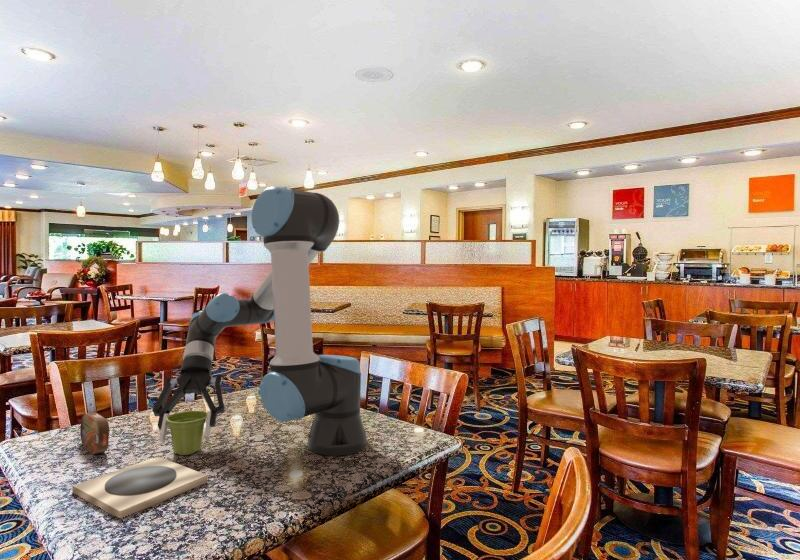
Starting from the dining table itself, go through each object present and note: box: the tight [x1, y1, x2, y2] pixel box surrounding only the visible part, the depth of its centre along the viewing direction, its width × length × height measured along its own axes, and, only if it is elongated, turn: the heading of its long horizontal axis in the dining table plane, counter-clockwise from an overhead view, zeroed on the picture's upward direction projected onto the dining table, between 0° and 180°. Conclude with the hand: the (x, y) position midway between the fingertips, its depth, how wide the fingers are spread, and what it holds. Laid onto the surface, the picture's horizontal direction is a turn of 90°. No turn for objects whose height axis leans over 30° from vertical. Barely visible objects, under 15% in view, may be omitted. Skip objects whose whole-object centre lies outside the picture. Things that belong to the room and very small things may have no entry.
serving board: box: [71, 455, 208, 519], centre depth 99 cm, size 18×18×2 cm
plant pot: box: [166, 410, 208, 456], centre depth 118 cm, size 9×9×9 cm
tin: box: [79, 412, 110, 455], centre depth 119 cm, size 15×3×8 cm, turn 47°
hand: (184, 439), depth 115 cm, fingers closed on plant pot, 9 cm apart
